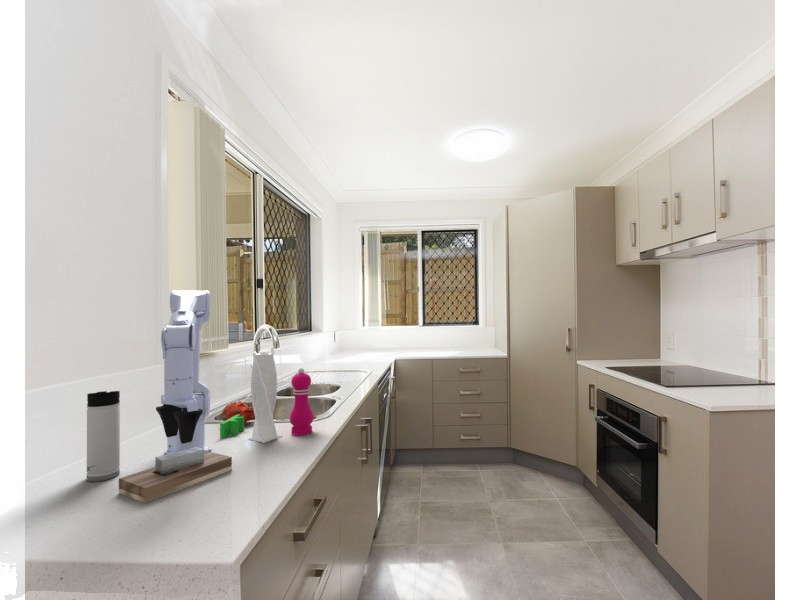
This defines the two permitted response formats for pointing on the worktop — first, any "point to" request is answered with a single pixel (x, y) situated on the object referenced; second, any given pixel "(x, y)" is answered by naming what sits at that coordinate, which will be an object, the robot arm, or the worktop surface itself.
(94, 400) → the travel mug
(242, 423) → the green bumpy bar
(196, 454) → the grey block
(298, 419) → the pepper mill
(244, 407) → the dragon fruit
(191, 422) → the robot arm
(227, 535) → the worktop surface
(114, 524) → the worktop surface
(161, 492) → the wooden slotted board
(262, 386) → the skyscraper
